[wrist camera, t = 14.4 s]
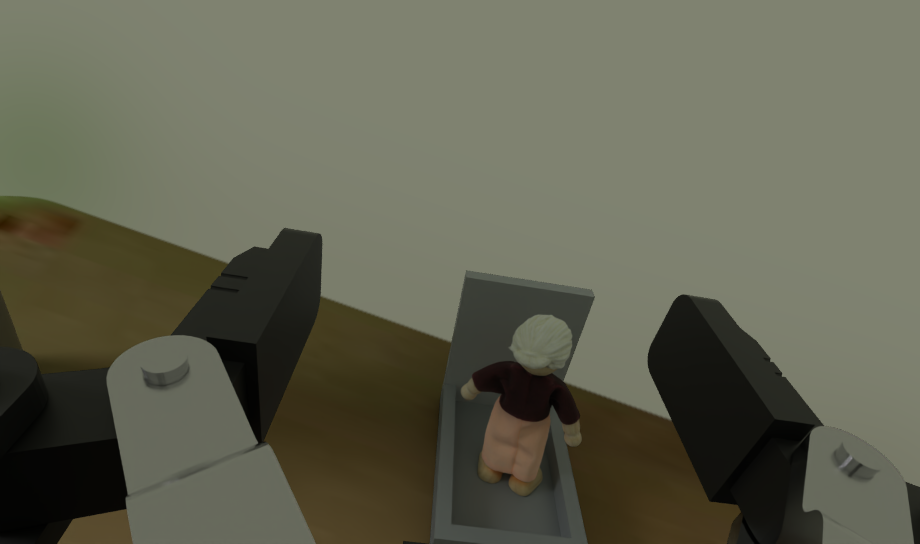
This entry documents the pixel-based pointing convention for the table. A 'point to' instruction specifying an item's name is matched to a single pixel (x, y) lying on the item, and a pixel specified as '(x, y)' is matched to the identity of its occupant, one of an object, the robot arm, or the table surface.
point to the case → (465, 421)
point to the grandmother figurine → (525, 403)
